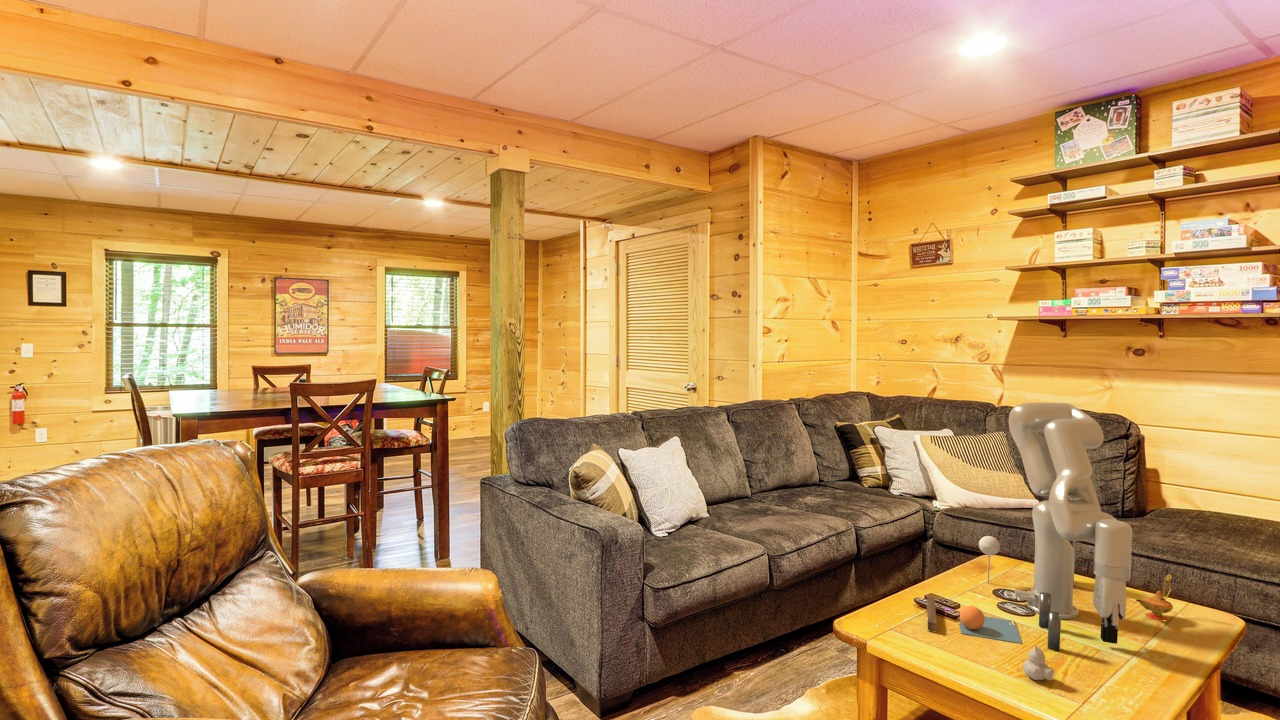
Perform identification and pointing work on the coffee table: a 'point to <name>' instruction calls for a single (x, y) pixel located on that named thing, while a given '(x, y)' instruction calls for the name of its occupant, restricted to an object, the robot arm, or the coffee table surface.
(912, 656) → the coffee table surface
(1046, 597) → the post
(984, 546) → the lollipop
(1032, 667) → the grey lumpy figure
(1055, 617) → the post
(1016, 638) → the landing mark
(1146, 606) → the magic lamp
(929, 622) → the wall
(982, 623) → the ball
